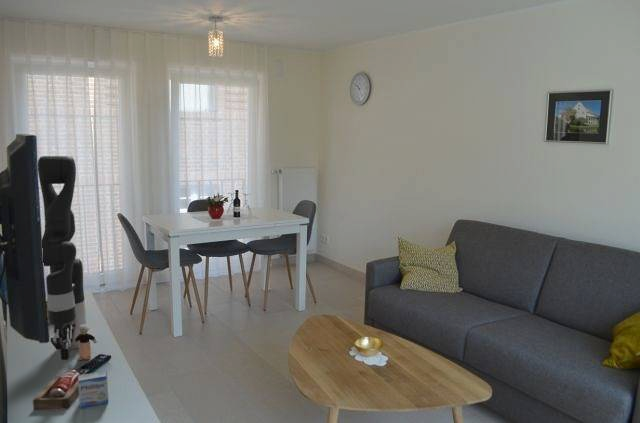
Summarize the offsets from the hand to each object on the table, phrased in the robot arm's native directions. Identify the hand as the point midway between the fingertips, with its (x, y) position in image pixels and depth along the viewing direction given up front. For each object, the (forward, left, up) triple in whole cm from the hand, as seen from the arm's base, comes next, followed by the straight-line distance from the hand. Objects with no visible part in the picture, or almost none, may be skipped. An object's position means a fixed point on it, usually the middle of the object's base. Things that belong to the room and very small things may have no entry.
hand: (65, 359), depth 160 cm
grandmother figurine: (-22, -3, -10) cm, 25 cm away
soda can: (-3, 0, -8) cm, 8 cm away
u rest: (+4, 0, -10) cm, 11 cm away
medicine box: (+8, +11, -10) cm, 17 cm away
